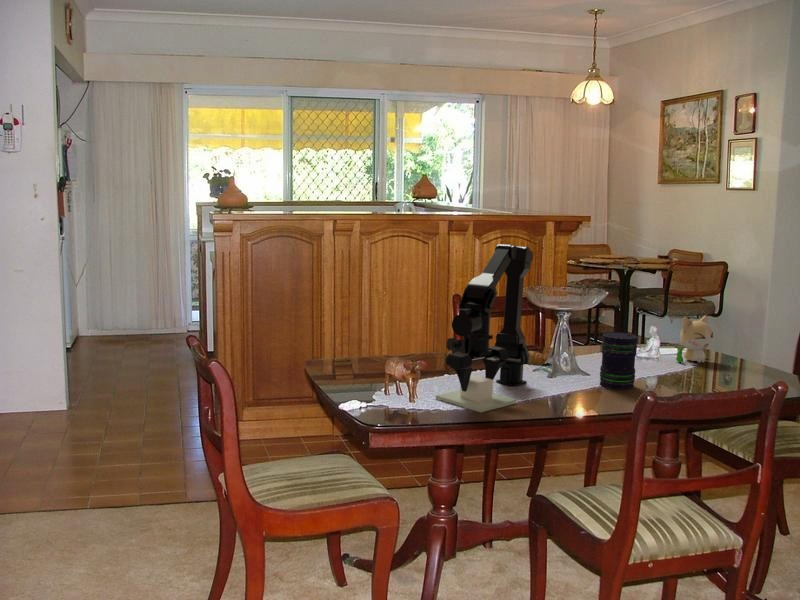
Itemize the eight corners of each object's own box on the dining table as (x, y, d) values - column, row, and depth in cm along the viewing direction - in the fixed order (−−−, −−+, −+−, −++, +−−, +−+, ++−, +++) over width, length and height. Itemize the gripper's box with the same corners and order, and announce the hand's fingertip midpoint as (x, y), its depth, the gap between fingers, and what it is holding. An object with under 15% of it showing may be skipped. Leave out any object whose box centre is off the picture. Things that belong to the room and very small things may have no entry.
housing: (475, 393, 227) (476, 375, 226) (492, 398, 223) (493, 379, 222) (460, 396, 223) (460, 378, 222) (477, 401, 219) (477, 383, 218)
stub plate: (471, 390, 233) (471, 378, 233) (516, 403, 222) (516, 390, 221) (435, 398, 224) (436, 386, 224) (480, 412, 212) (481, 399, 212)
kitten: (688, 366, 271) (692, 320, 269) (665, 359, 280) (668, 315, 278) (721, 362, 278) (725, 317, 276) (698, 356, 287) (701, 313, 284)
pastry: (553, 363, 271) (554, 351, 271) (545, 367, 266) (546, 355, 265) (526, 359, 276) (526, 348, 275) (518, 363, 270) (518, 351, 270)
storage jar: (609, 391, 237) (613, 339, 235) (592, 382, 246) (595, 332, 244) (641, 389, 240) (644, 338, 238) (623, 381, 249) (626, 331, 247)
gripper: (479, 322, 232) (477, 377, 235) (431, 329, 220) (429, 387, 222) (510, 328, 224) (508, 385, 226) (462, 336, 212) (460, 396, 214)
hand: (476, 388), depth 222 cm, fingers open, 9 cm apart
